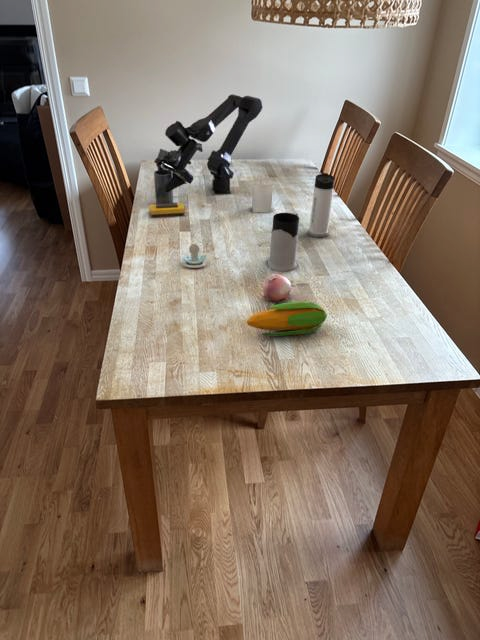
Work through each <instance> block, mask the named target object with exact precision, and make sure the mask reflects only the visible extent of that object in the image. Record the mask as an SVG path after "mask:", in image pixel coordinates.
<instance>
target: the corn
mask: <svg viewBox="0 0 480 640" xmlns="http://www.w3.org/2000/svg"><path fill="white" fill-rule="evenodd" d="M327 318H328V314H327V312H326V311H325V309H324V308H323V307H322V306H320V305H319V304H316V303H315V302H312V301H290V302H289V301H288V302H282V303H278V304H277V303H276V304H274V305H272V306H269V309H268V310H263V311H262V310H261V311H260V312H258V313H255V314H253V315H251V316H250V317H249V318H248V319H247V320H246V324H247V325H248V326H250V327H252V328H255V329H259V330H262V331H272V332H266V333H265V332H264V333H261V334H260V335H261V336H269V337H270V336H271V337H278V336H280V337H281V336H295V335H309V334H310V333H312V332H315V331H316V330H317V331H318V329H319V328H320V327H321V326H322V325H323V323H324V322H325V321H326V319H327ZM273 331H275V332H273ZM276 331H279V332H276Z"/></svg>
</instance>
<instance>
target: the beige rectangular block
mask: <svg viewBox="0 0 480 640" xmlns="http://www.w3.org/2000/svg"><path fill="white" fill-rule="evenodd" d="M252 188H253V189H252V202H251V203H252V204H251V210H252V213H272V205H273V203H272V202H273V184H272V183H253V187H252Z"/></svg>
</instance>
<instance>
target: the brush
mask: <svg viewBox="0 0 480 640" xmlns="http://www.w3.org/2000/svg"><path fill="white" fill-rule="evenodd" d="M149 212H150V215H151V218H165V217H167V218H168V217H183V216H185V212H186V211H185V206H184V204H183V202H173V203H164V204H156V203H155V204H149Z"/></svg>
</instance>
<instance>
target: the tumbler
mask: <svg viewBox="0 0 480 640" xmlns="http://www.w3.org/2000/svg"><path fill="white" fill-rule="evenodd" d="M153 179H154V180H153V181H154V193H155V204H164V203H174V189H173V190H172V191H170V192H168V193H167V192H165V190H166V188H167V186H168V184H169V183H170V181H171V179H172V171H169V170H158V169H157V170H155V171H154V172H153Z"/></svg>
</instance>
